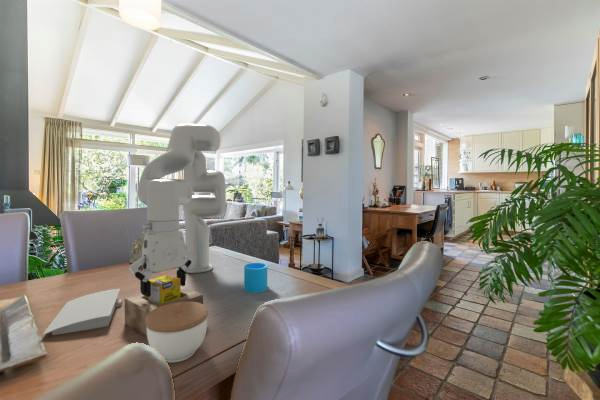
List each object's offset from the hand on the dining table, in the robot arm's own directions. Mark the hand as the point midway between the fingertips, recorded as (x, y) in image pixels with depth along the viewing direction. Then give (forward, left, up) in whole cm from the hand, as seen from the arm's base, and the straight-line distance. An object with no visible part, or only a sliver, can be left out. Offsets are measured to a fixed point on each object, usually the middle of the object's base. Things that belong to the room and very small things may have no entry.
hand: (164, 289), depth 79 cm
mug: (0, +34, -9) cm, 35 cm away
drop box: (0, 0, -9) cm, 9 cm away
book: (-20, -10, -10) cm, 24 cm away
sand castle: (-64, +29, -9) cm, 71 cm away
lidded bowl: (+16, -6, -9) cm, 19 cm away
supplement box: (0, 0, -8) cm, 8 cm away
